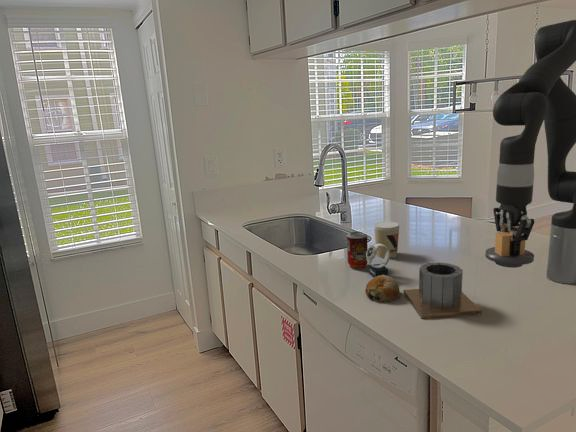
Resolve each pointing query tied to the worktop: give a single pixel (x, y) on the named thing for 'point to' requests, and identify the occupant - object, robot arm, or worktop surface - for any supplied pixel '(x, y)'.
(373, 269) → the watch
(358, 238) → the soda can
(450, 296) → the gray cylinder on base
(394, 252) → the coffee cup
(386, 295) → the bread roll
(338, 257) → the worktop surface
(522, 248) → the cap
